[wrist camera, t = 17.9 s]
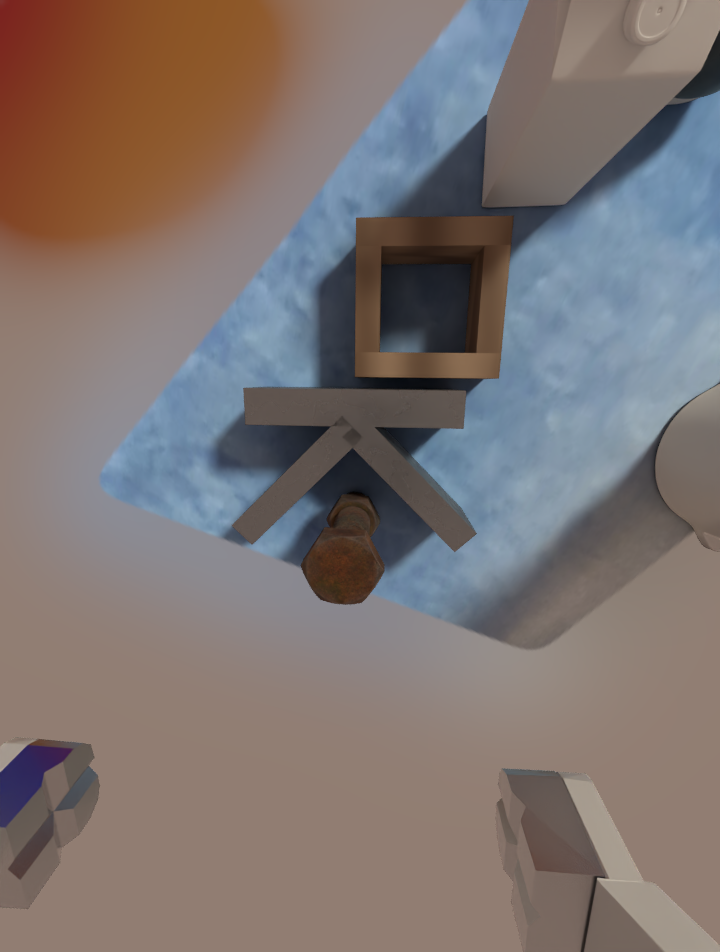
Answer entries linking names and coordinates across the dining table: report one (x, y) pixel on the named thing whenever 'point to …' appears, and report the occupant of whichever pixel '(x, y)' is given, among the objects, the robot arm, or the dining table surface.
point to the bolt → (345, 553)
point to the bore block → (434, 244)
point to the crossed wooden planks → (358, 448)
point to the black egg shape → (703, 78)
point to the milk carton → (586, 89)
